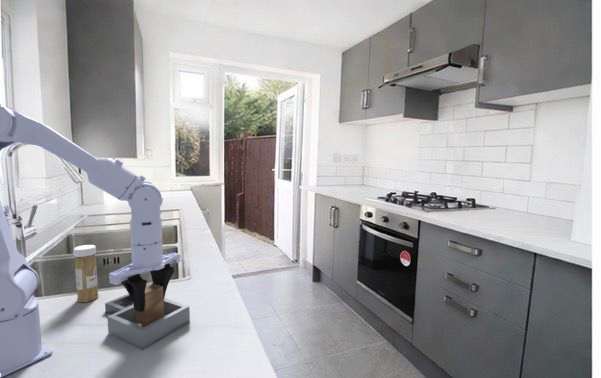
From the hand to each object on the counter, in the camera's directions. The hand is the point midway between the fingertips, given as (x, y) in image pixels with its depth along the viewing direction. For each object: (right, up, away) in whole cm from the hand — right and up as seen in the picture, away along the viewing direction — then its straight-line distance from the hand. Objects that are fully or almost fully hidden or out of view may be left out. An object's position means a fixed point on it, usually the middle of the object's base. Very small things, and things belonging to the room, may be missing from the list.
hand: (149, 305), depth 64 cm
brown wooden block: (0, -3, 0) cm, 3 cm away
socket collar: (-9, -4, +8) cm, 13 cm away
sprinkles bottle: (-22, -4, +13) cm, 26 cm away
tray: (0, -5, 0) cm, 5 cm away
